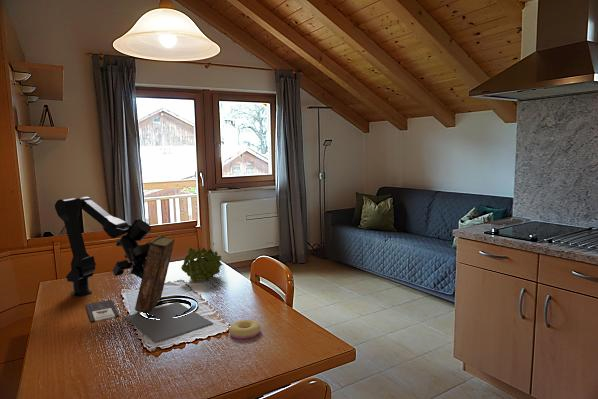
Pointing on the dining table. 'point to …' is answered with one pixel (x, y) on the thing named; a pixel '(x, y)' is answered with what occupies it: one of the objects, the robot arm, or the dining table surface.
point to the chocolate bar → (101, 310)
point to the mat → (168, 322)
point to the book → (154, 273)
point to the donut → (244, 329)
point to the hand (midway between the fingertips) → (148, 281)
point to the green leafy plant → (201, 264)
